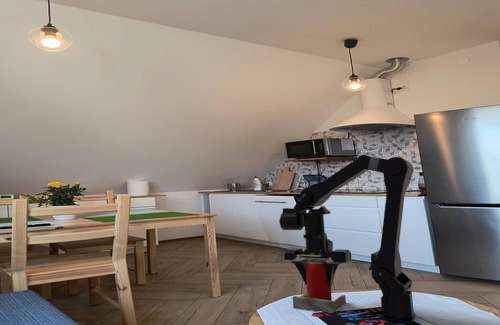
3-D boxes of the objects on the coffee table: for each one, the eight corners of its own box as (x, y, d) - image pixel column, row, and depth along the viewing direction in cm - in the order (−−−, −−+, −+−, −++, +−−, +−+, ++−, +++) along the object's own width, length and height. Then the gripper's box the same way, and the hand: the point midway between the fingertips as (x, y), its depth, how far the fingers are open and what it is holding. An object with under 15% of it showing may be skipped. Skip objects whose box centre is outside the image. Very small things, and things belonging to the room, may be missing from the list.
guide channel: (345, 302, 95) (345, 291, 95) (332, 313, 86) (331, 301, 86) (309, 298, 101) (308, 287, 101) (293, 308, 92) (292, 296, 92)
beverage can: (330, 300, 96) (327, 258, 98) (333, 307, 90) (330, 262, 91) (307, 301, 97) (304, 259, 99) (308, 308, 90) (305, 263, 92)
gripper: (354, 228, 98) (359, 282, 96) (297, 228, 108) (300, 277, 106) (342, 231, 88) (347, 291, 86) (281, 231, 99) (284, 285, 96)
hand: (318, 286), depth 94 cm, fingers closed on beverage can, 7 cm apart
